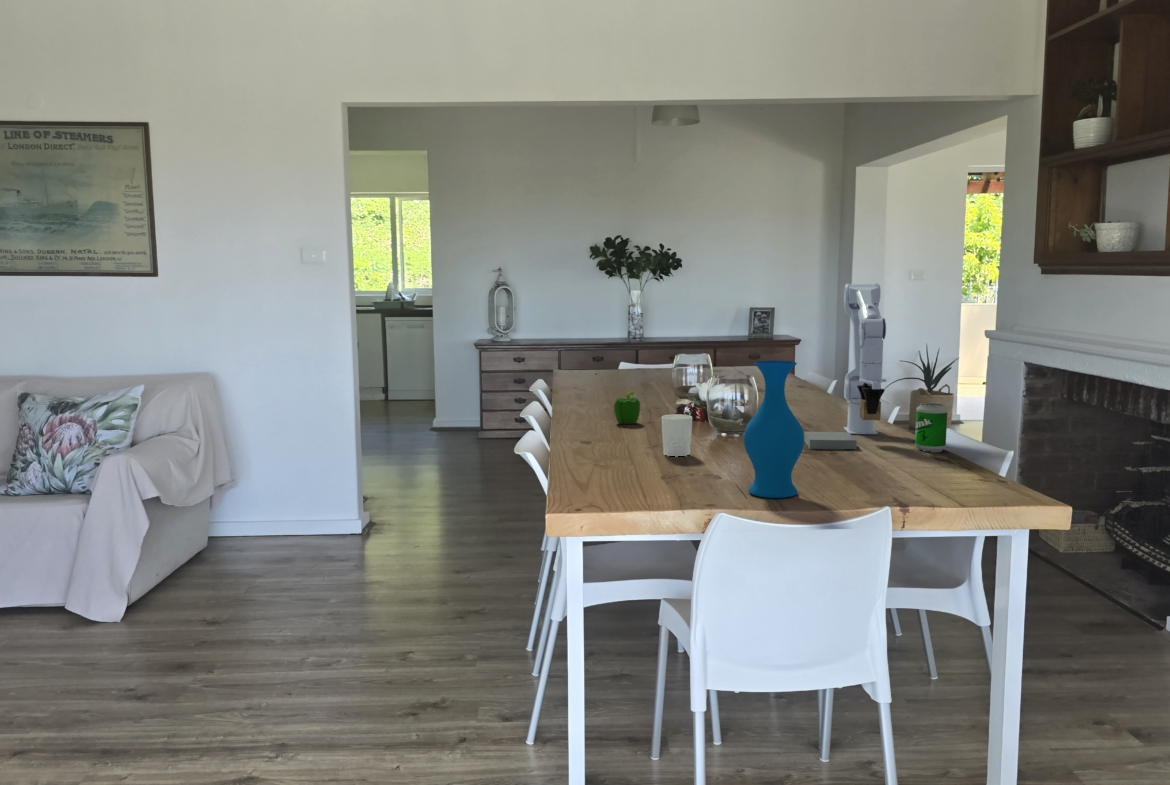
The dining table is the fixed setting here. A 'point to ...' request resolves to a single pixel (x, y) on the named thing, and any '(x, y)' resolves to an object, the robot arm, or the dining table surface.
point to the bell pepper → (627, 409)
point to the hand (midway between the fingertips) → (869, 412)
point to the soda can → (931, 427)
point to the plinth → (830, 440)
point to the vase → (774, 436)
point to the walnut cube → (865, 415)
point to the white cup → (676, 434)
